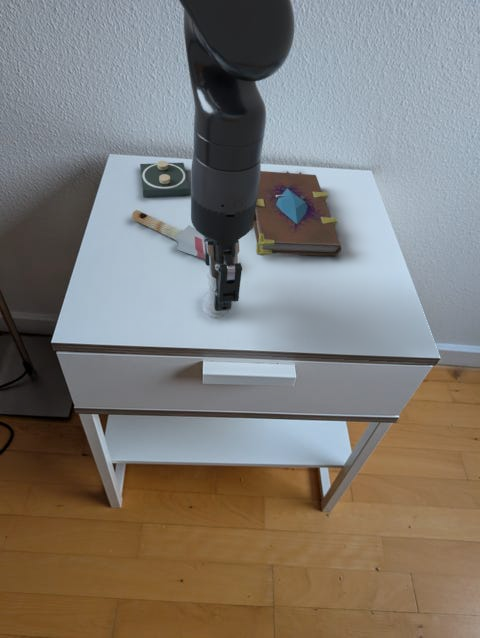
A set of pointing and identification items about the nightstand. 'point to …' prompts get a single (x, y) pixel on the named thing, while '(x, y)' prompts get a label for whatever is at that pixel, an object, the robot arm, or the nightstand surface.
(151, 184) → the green square board
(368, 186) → the nightstand surface
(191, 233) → the grey trowel
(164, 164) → the eye pad
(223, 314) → the rook chess piece
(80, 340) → the nightstand surface
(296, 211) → the book
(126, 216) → the nightstand surface
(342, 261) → the nightstand surface
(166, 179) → the eye pad
